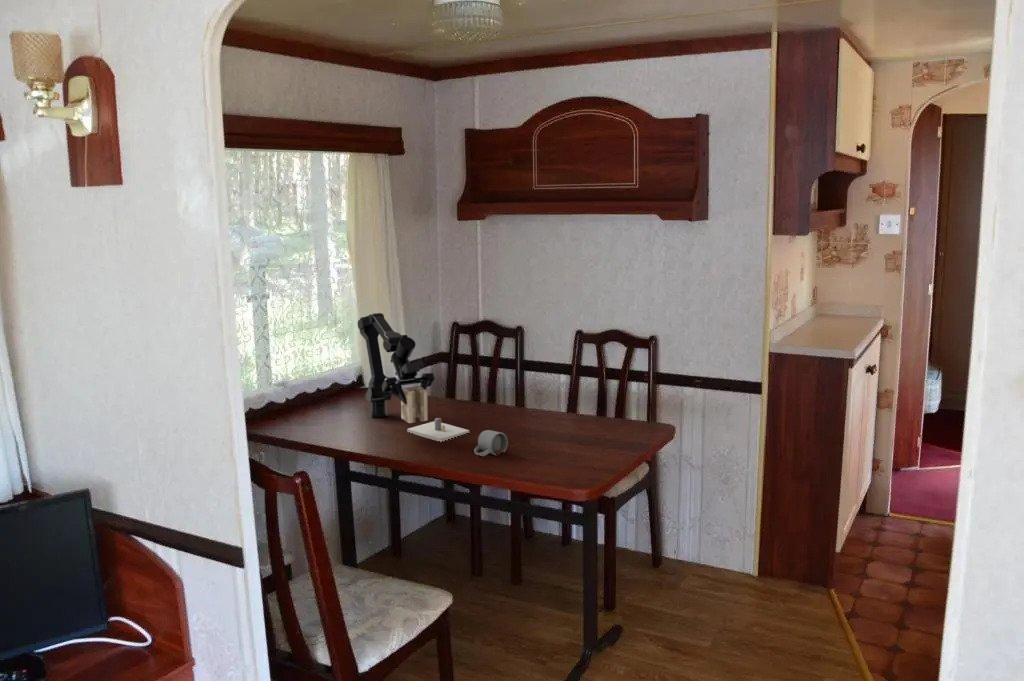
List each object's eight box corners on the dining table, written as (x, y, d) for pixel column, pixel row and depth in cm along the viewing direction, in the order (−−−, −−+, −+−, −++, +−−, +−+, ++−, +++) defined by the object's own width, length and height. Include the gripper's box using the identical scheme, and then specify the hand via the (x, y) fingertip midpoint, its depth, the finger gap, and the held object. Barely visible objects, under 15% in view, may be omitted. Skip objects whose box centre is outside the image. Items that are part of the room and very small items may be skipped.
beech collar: (401, 418, 303) (400, 388, 301) (419, 415, 307) (418, 386, 305) (409, 423, 297) (408, 392, 295) (427, 420, 301) (427, 390, 299)
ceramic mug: (492, 447, 293) (491, 425, 292) (508, 452, 287) (508, 430, 286) (468, 454, 286) (468, 432, 285) (484, 460, 280) (484, 437, 279)
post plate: (407, 432, 311) (406, 418, 310) (435, 424, 321) (435, 410, 320) (441, 442, 299) (440, 427, 298) (469, 433, 309) (469, 419, 308)
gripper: (384, 355, 296) (397, 393, 289) (432, 350, 306) (446, 386, 299) (376, 373, 305) (388, 410, 297) (423, 367, 314) (437, 403, 307)
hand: (415, 402), depth 300 cm, fingers closed on beech collar, 7 cm apart
